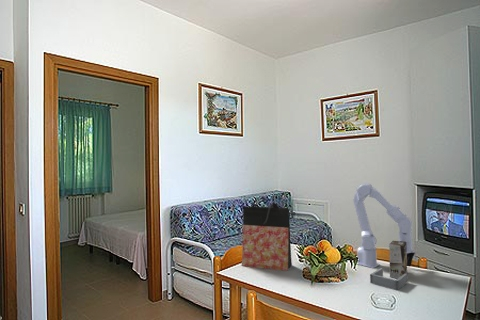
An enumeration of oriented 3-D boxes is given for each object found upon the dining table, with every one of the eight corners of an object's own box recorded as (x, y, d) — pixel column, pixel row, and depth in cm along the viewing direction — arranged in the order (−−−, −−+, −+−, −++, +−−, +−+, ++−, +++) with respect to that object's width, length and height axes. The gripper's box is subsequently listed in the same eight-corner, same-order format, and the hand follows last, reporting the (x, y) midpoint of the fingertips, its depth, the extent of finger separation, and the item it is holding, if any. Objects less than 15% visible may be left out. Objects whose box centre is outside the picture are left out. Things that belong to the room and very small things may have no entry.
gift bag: (239, 267, 167) (238, 202, 167) (248, 259, 180) (247, 199, 181) (293, 273, 156) (292, 204, 157) (298, 264, 170) (297, 201, 170)
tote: (370, 283, 142) (370, 274, 142) (380, 276, 151) (380, 267, 151) (397, 290, 134) (397, 281, 134) (407, 282, 142) (407, 274, 142)
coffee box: (404, 280, 145) (403, 245, 145) (389, 277, 149) (388, 243, 149) (407, 274, 152) (407, 241, 152) (393, 271, 156) (392, 239, 156)
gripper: (409, 245, 150) (409, 273, 150) (418, 239, 160) (419, 265, 160) (393, 242, 155) (394, 269, 155) (403, 237, 165) (404, 262, 165)
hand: (406, 267), depth 158 cm, fingers open, 6 cm apart
